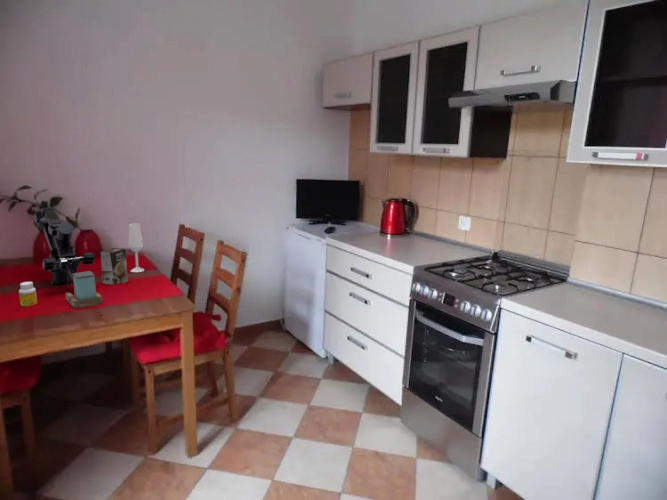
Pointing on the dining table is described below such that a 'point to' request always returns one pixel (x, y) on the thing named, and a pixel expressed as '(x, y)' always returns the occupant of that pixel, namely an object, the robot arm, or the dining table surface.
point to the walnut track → (83, 301)
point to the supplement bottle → (27, 294)
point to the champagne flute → (135, 243)
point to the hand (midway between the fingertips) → (74, 278)
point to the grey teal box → (84, 285)
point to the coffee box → (114, 266)
